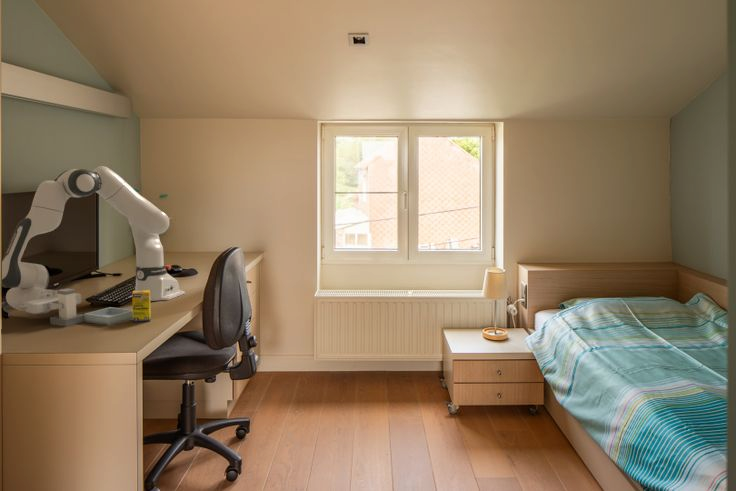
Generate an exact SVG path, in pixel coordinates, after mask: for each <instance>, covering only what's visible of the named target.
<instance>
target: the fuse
mask: <svg viewBox="0 0 736 491" xmlns="http://www.w3.org/2000/svg"><path fill="white" fill-rule="evenodd" d="M61 289H62V290H57V293H58V303H59V304H60V303H62V304H64V308H63V309H58V315H59V318H63V319H68V318H72V317H76V314H77V305H76V298H75V293H77V292H76V289H74V288H64V289H63V288H61Z"/></svg>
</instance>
